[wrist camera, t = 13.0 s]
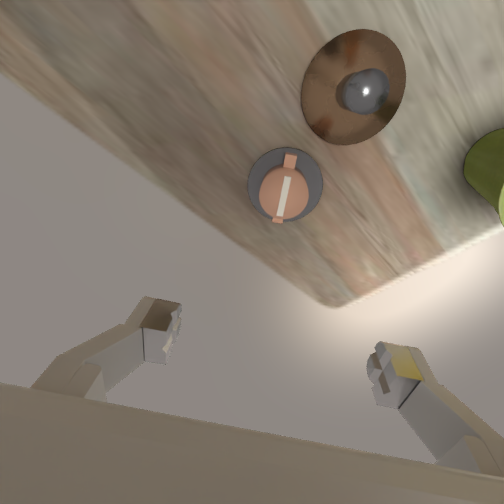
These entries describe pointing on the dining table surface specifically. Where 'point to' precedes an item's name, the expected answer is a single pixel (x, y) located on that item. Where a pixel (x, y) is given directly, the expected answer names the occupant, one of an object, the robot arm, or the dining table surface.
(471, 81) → the dining table surface
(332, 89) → the brown wide round part
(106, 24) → the dining table surface
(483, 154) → the plant pot
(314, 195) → the pad
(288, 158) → the cap
